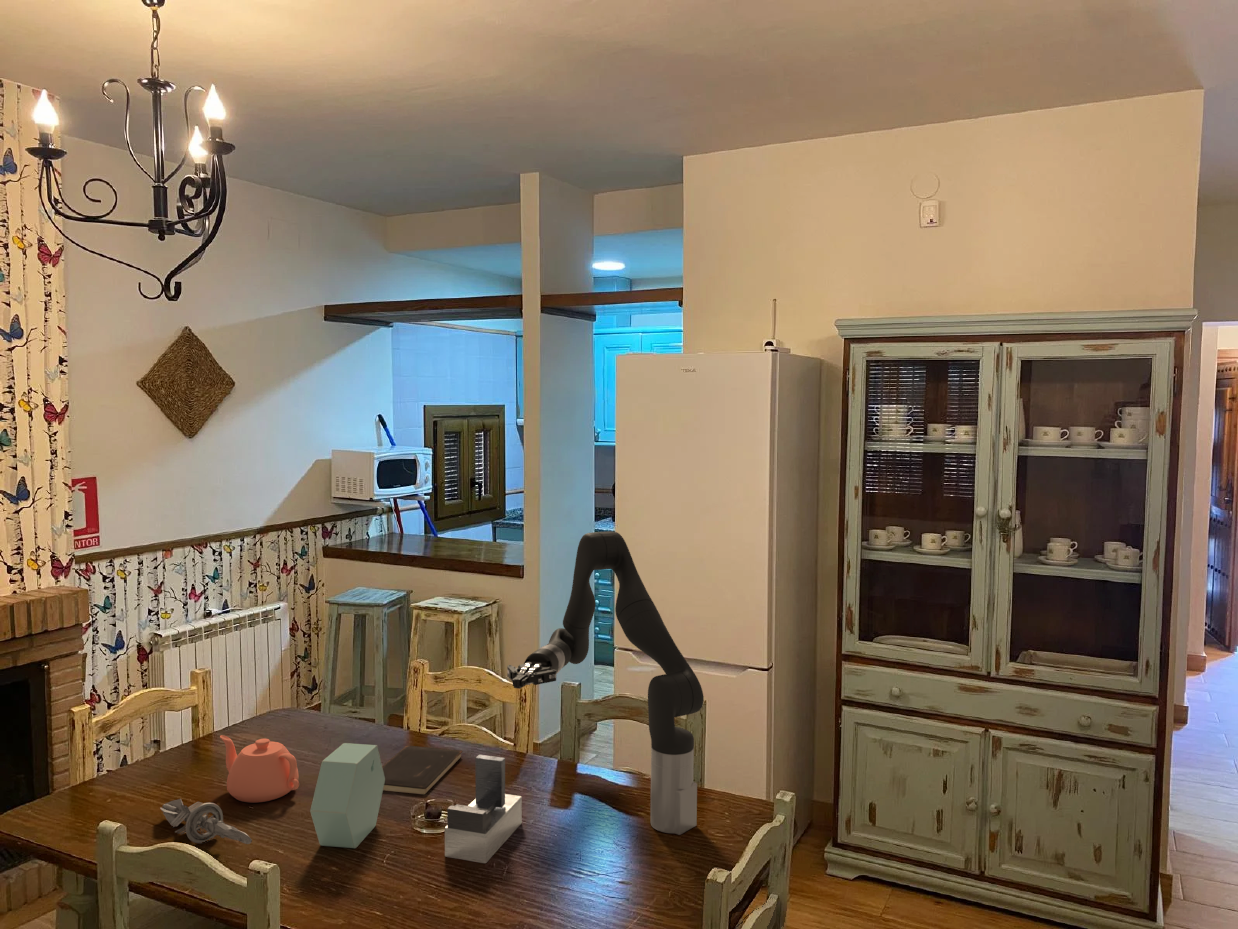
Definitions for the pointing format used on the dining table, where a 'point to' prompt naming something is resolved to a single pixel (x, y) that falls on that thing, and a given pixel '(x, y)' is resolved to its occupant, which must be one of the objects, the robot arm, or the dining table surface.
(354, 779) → the mint hexagonal prism
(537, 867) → the dining table surface
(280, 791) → the teapot
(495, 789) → the dark grey tapered block
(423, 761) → the hardcover book
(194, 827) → the spaceship
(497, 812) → the white rectangular holder
